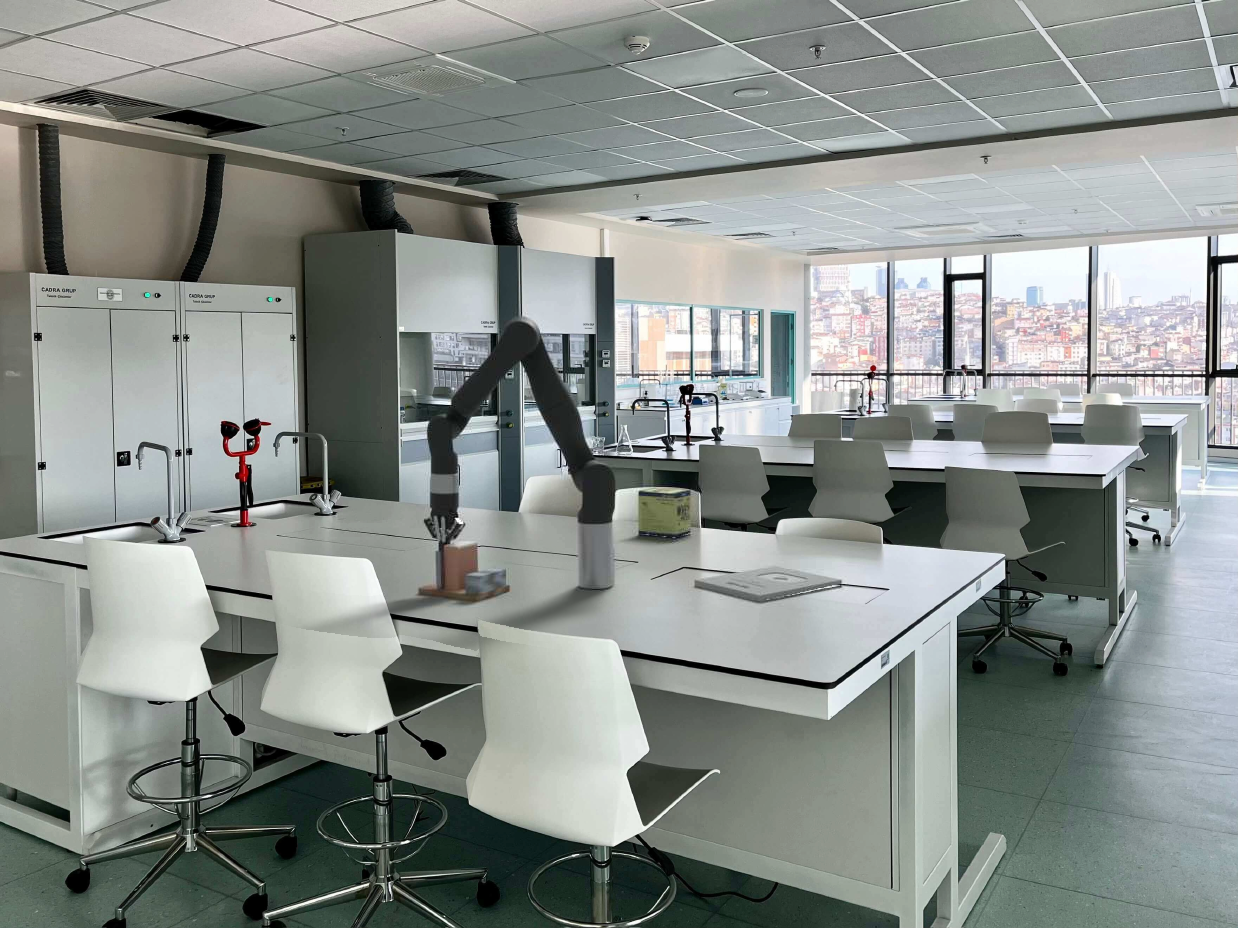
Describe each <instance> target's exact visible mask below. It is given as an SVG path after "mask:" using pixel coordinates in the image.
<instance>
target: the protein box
mask: <svg viewBox="0 0 1238 928" xmlns="http://www.w3.org/2000/svg"><path fill="white" fill-rule="evenodd" d="M637 493H638V494H637V495H638V496H637V497H638V504H637V505H638V510H637V511H638V518H637V519H638V520H637V521H638V524H637V525H638V528H637V529H638V534H649V535H657V536H666V537H675V538H674V539H677V538H676V537H679V538H681V537H680V536H683V535H685V534H688V533H690V532H691V531H692V530H691V529H692V528H691V527H692V526H691V520H692V519H691V513H692V512H691V511H692V510H691V505H692V503H691V497H692V496H691V495H692V493H691V489H690V490H689V489H677V488H675V489H674V488H673V489H671V488H660V487H653V488H648V489H643V490H642V489H641V490H638V492H637ZM683 537H684V536H683Z"/></svg>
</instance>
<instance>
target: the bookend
mask: <svg viewBox="0 0 1238 928" xmlns="http://www.w3.org/2000/svg"><path fill="white" fill-rule="evenodd" d="M435 583H436V588H444V587H445V569H444V549H443V550H439V549H438V550H436V551H435Z"/></svg>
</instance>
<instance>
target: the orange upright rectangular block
mask: <svg viewBox="0 0 1238 928" xmlns="http://www.w3.org/2000/svg"><path fill="white" fill-rule="evenodd" d="M478 551H479V550H478V542H477V541H466V540H461V541H457V542H453V543H450V544H448V545H444V569H445V588H447V589H455V590H460V589H464V588H465V575H467V574H471V573H474V572H478V571H479V559H478V558H479V557H478V554H479V553H478Z"/></svg>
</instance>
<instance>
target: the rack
mask: <svg viewBox="0 0 1238 928" xmlns="http://www.w3.org/2000/svg"><path fill="white" fill-rule="evenodd" d="M510 591H511V586H510V584H507V569H506V568H497V567H490V568H486V569H482V570H478V572H474V573H471V574H467V575H465V588H464V589H460V590H455V589H447V588H445V587H444V588H436V582H435V583H431V584H427V585H423V586H419V587H418V592H417V593H418V594H419V595H420V594H421V595H428V596H433V597H434V596H435V597H442V598H446V599H447V598H448V599H449V598H450V599H454V600H463V601H470V602H477V601H478V602H479V601H481V600H484V599H489V598H491V597H495V596H498V595H501V594H504V593H507V592H510Z"/></svg>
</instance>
